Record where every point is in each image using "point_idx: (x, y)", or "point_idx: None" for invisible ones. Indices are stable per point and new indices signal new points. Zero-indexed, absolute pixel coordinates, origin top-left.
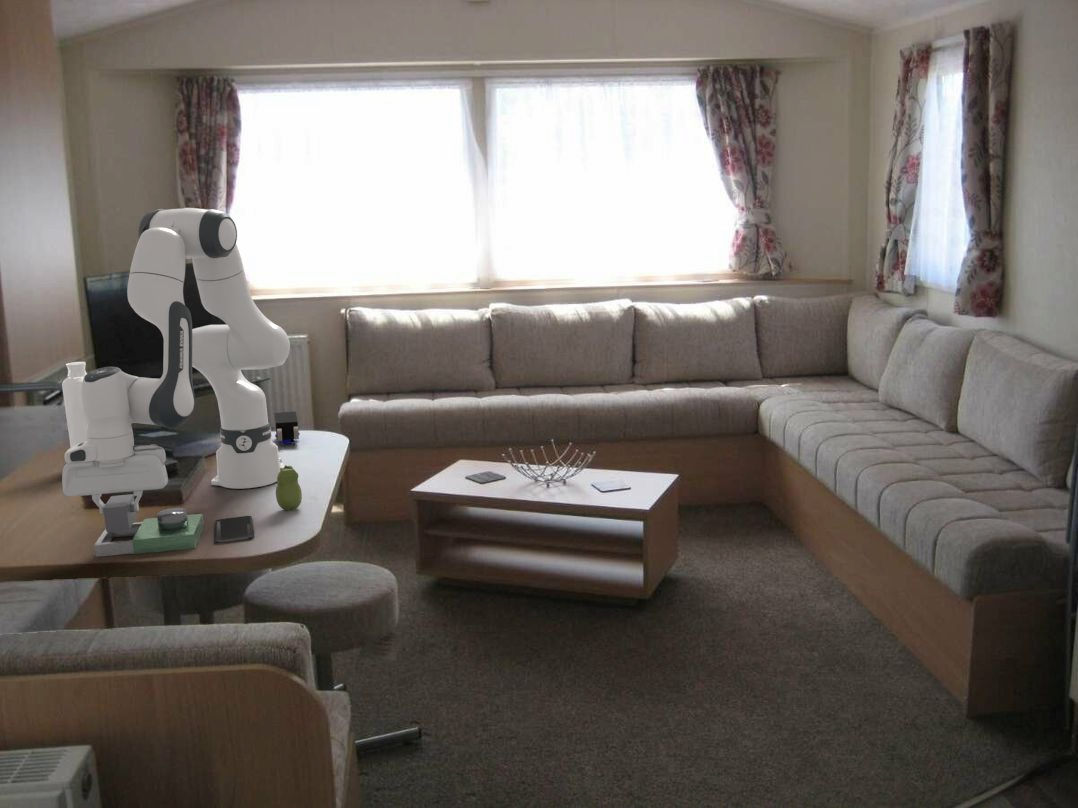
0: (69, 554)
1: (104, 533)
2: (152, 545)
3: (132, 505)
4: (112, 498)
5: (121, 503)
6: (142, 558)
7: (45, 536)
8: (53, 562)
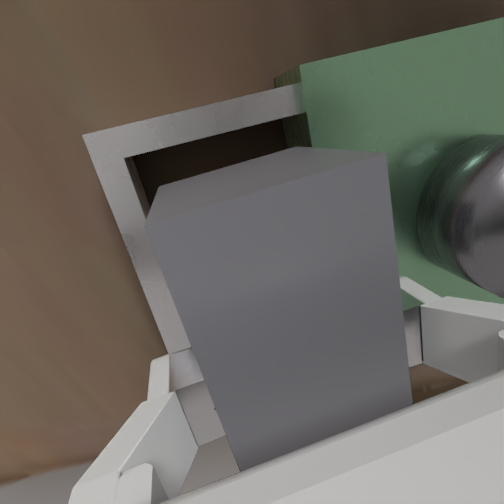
0: (53, 374)
1: (154, 283)
2: None
3: (409, 359)
4: (211, 311)
5: None
6: None
7: None
8: (47, 450)
